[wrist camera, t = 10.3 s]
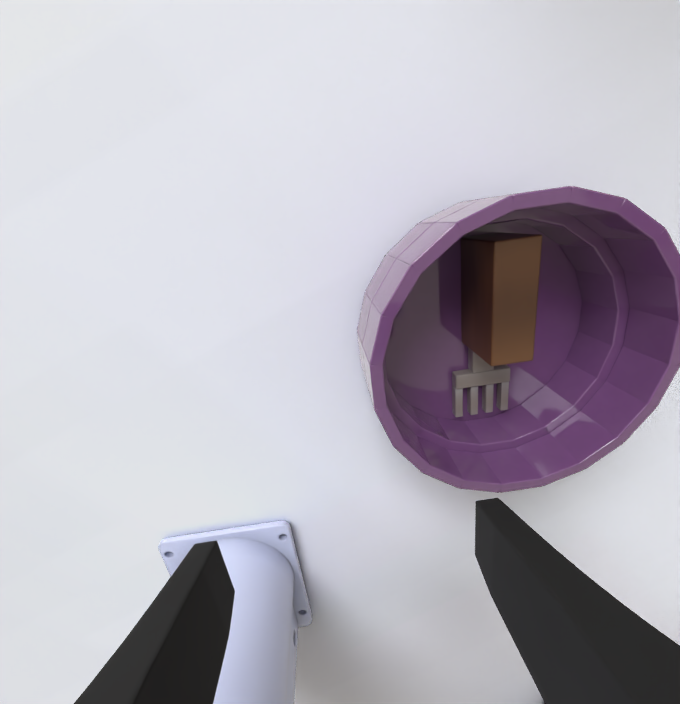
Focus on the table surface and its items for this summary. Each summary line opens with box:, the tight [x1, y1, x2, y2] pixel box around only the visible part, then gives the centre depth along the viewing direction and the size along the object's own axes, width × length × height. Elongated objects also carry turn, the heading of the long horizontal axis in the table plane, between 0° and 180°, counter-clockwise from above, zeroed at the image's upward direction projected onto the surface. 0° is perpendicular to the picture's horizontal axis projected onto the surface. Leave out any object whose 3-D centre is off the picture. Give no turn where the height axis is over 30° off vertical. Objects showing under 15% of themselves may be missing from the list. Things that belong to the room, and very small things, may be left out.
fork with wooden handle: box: [452, 232, 542, 417], centre depth 15 cm, size 9×3×3 cm, turn 8°
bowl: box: [357, 186, 680, 493], centre depth 15 cm, size 12×12×5 cm
